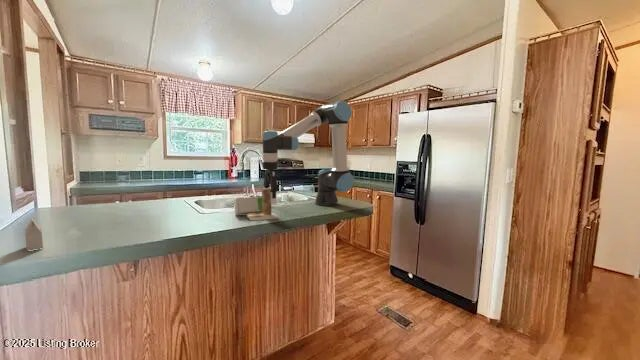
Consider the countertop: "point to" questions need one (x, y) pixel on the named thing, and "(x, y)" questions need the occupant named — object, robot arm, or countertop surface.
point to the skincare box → (248, 205)
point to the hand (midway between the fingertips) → (270, 202)
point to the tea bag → (33, 236)
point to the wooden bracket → (263, 205)
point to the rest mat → (264, 217)
